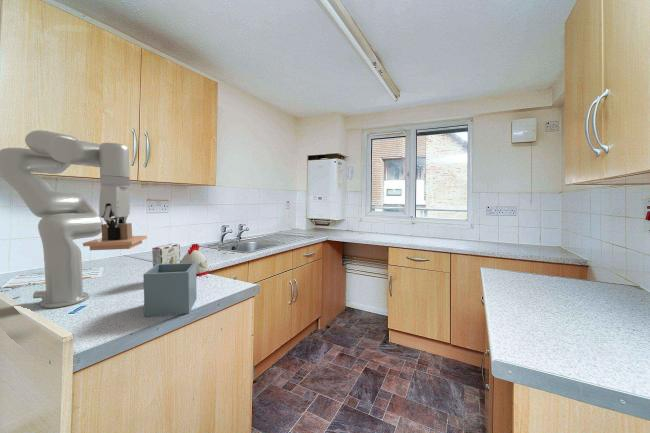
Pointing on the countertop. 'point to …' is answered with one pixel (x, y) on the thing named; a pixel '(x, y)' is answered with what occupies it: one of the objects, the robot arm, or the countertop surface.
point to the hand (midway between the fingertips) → (117, 238)
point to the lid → (124, 242)
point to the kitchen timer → (196, 260)
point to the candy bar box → (166, 254)
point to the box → (169, 289)
